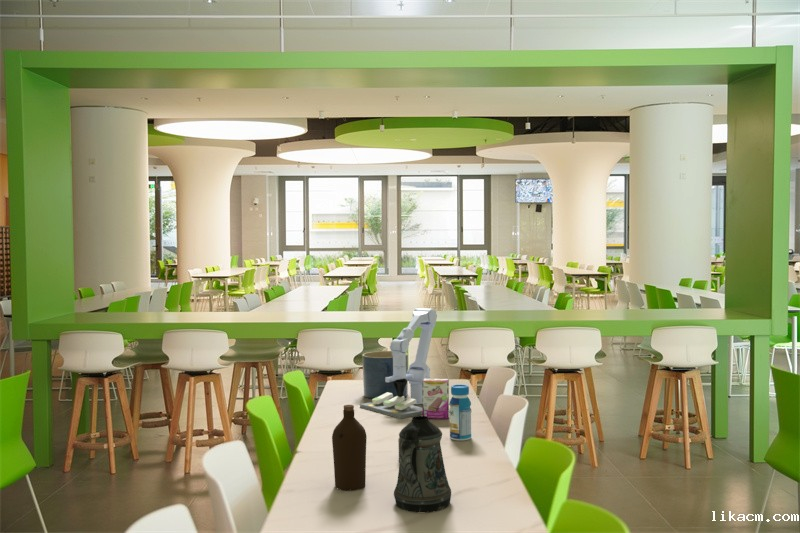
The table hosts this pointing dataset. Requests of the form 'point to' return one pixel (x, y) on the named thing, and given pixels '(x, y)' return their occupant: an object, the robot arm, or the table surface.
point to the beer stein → (421, 469)
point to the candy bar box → (436, 398)
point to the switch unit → (393, 410)
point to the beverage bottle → (460, 413)
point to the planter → (379, 374)
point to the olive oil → (349, 452)
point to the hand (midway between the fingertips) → (399, 396)
